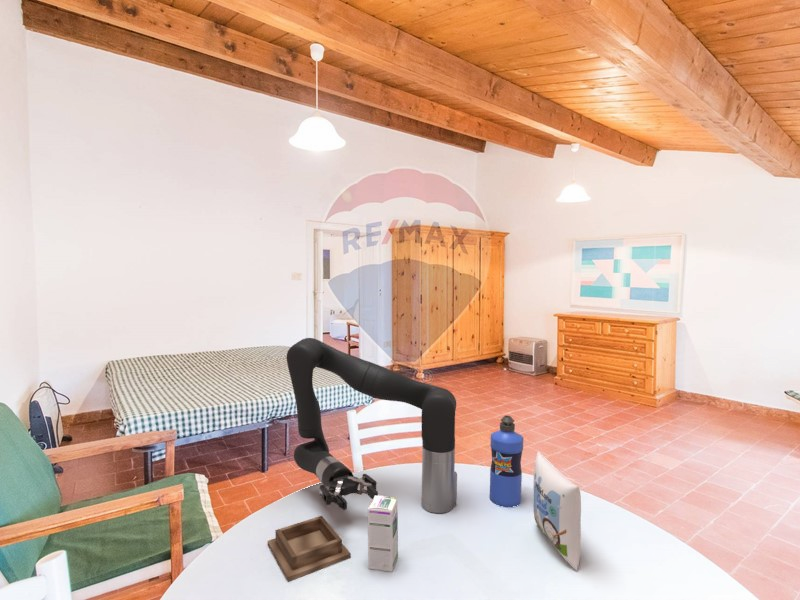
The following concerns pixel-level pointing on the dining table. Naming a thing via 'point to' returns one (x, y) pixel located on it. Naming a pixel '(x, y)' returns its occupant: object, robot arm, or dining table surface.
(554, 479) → the pouch
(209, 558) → the dining table surface
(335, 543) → the holder stand
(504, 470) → the water bottle
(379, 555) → the syrup box
